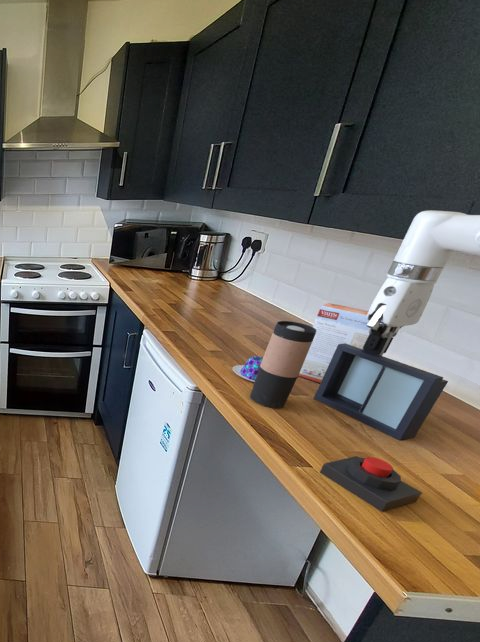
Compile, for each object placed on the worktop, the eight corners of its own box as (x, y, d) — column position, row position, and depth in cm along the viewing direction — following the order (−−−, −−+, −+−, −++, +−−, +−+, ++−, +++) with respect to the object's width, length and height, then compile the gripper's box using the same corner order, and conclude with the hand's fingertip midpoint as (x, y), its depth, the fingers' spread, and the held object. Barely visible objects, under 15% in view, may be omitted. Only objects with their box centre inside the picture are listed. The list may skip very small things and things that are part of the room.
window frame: (414, 437, 88) (451, 376, 82) (399, 440, 86) (436, 378, 80) (327, 396, 103) (352, 342, 97) (313, 398, 102) (338, 344, 96)
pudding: (223, 372, 114) (229, 356, 112) (244, 364, 120) (249, 348, 118) (270, 391, 105) (277, 373, 103) (290, 380, 111) (297, 363, 109)
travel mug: (242, 392, 104) (268, 319, 95) (271, 394, 103) (301, 321, 95) (260, 408, 97) (291, 331, 88) (292, 410, 97) (326, 333, 88)
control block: (416, 502, 70) (427, 484, 68) (381, 512, 67) (393, 494, 65) (351, 464, 78) (360, 448, 77) (319, 472, 76) (327, 455, 74)
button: (393, 476, 70) (398, 468, 69) (379, 479, 69) (384, 471, 68) (369, 462, 73) (374, 455, 73) (356, 466, 72) (360, 458, 72)
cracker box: (361, 390, 107) (399, 316, 99) (354, 395, 104) (392, 320, 96) (300, 369, 118) (329, 301, 109) (291, 374, 115) (321, 304, 106)
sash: (368, 409, 95) (406, 336, 87) (364, 409, 94) (403, 336, 87) (335, 394, 101) (368, 324, 93) (332, 394, 101) (365, 325, 93)
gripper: (412, 278, 79) (369, 361, 87) (459, 275, 84) (415, 355, 91) (368, 269, 86) (332, 347, 93) (414, 267, 90) (376, 342, 98)
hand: (373, 351), depth 92 cm, fingers closed
